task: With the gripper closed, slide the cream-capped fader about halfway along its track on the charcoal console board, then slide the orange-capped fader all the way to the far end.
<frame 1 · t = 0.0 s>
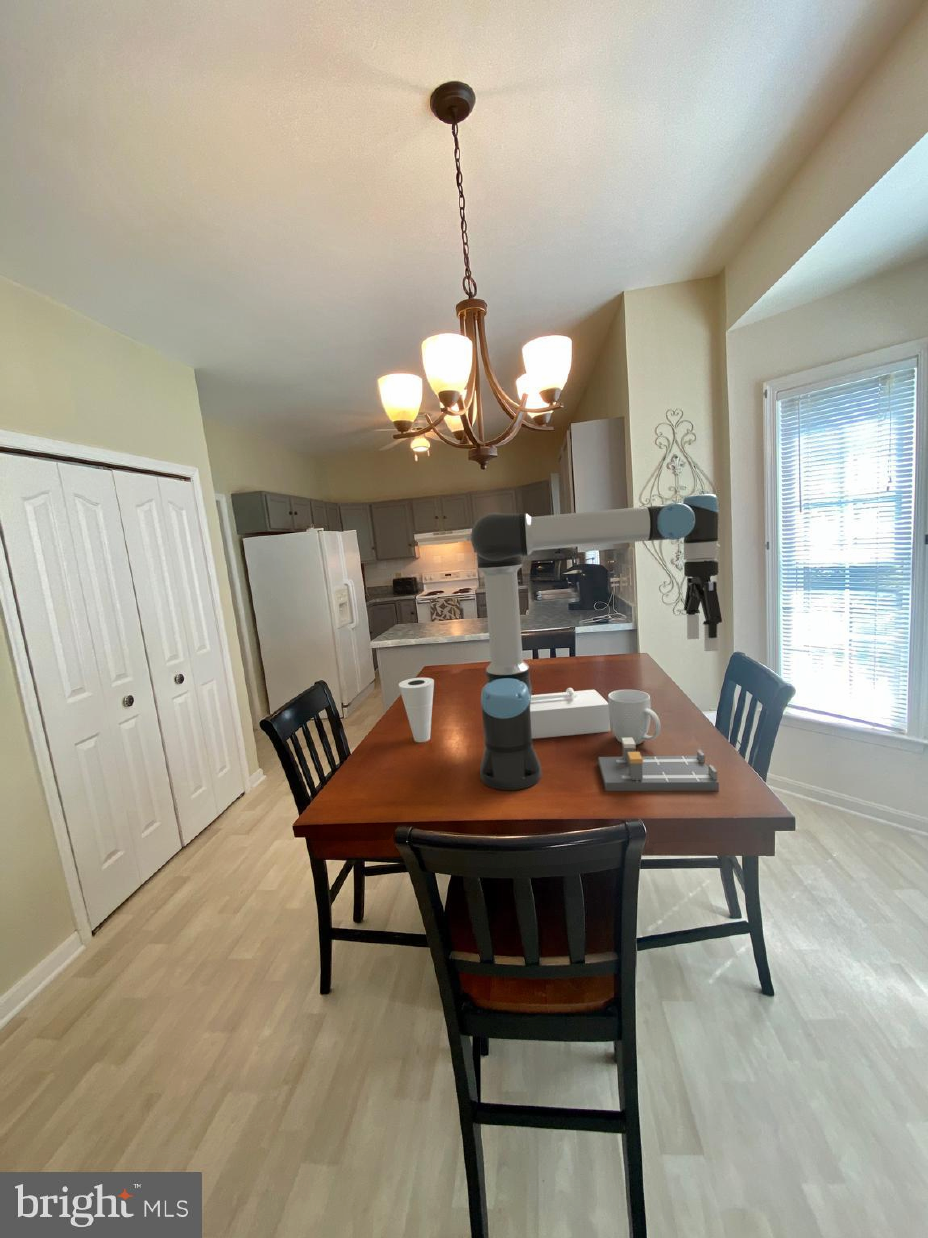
hand: (701, 644, 121), 28 cm above the table, fingers open, 13 cm apart
fader orange: (635, 765, 110), point 5 cm above the table, slide at 0.0 cm
white paper towel roll: (422, 739, 147), on the table
console: (654, 776, 113), on the table
tissue box: (562, 727, 148), on the table
fader cream: (628, 750, 117), point 5 cm above the table, slide at 0.0 cm
mug: (633, 742, 133), on the table
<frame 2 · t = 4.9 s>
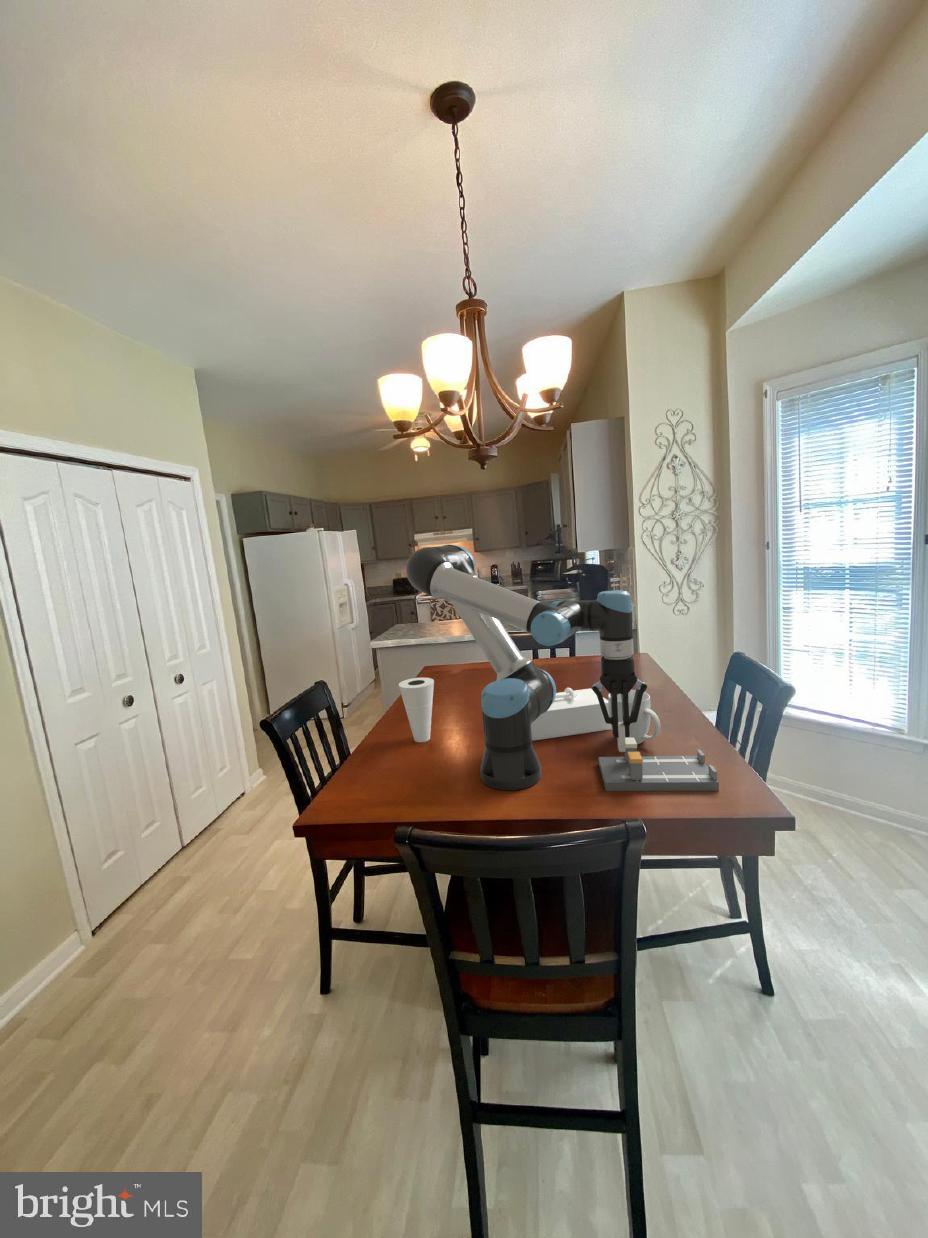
hand: (621, 749, 117), 5 cm above the table, fingers closed
fader cream: (630, 750, 117), point 5 cm above the table, slide at 0.4 cm, touching gripper
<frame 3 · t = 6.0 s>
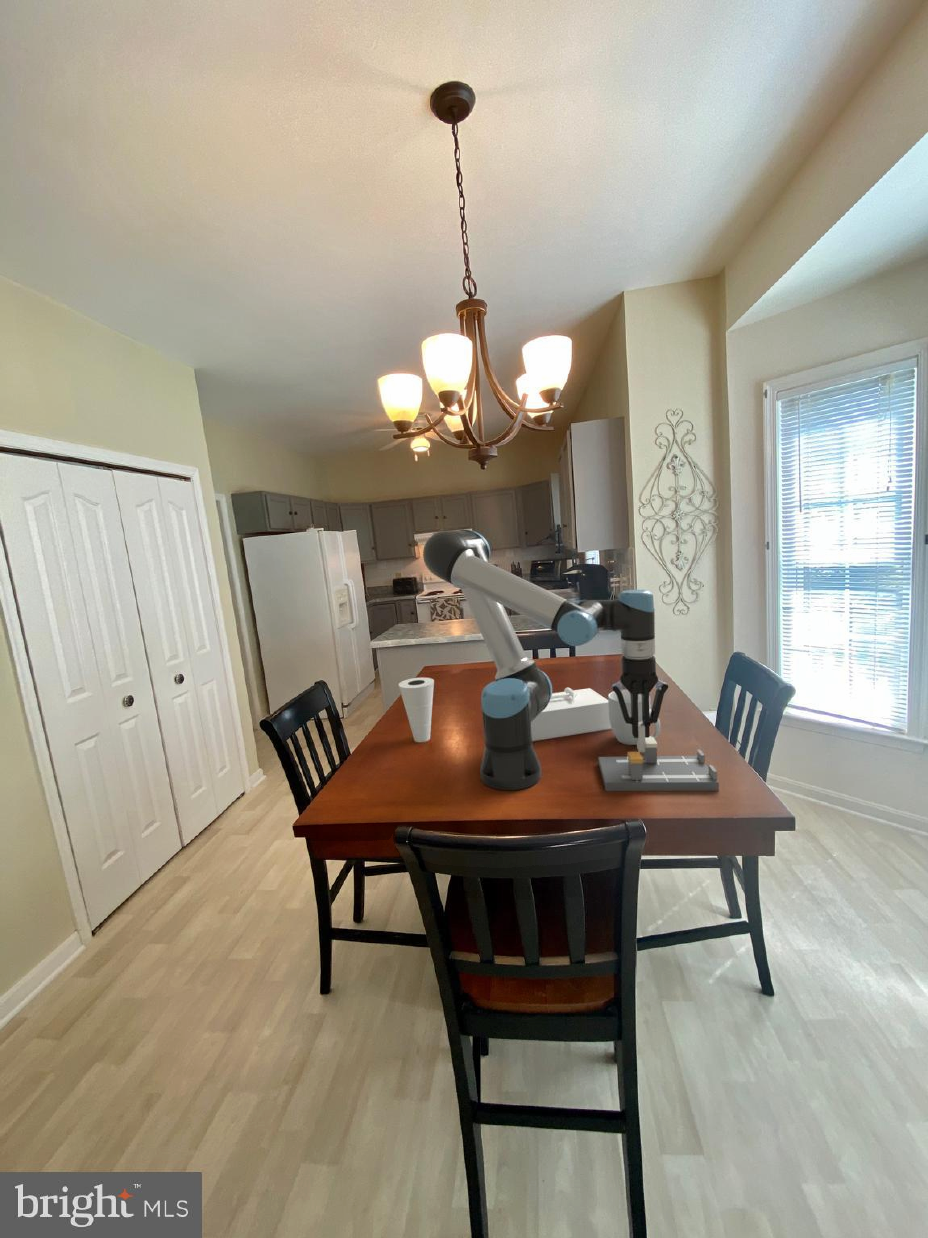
hand: (641, 749, 117), 5 cm above the table, fingers closed
fader cream: (649, 750, 117), point 5 cm above the table, slide at 5.0 cm, touching gripper
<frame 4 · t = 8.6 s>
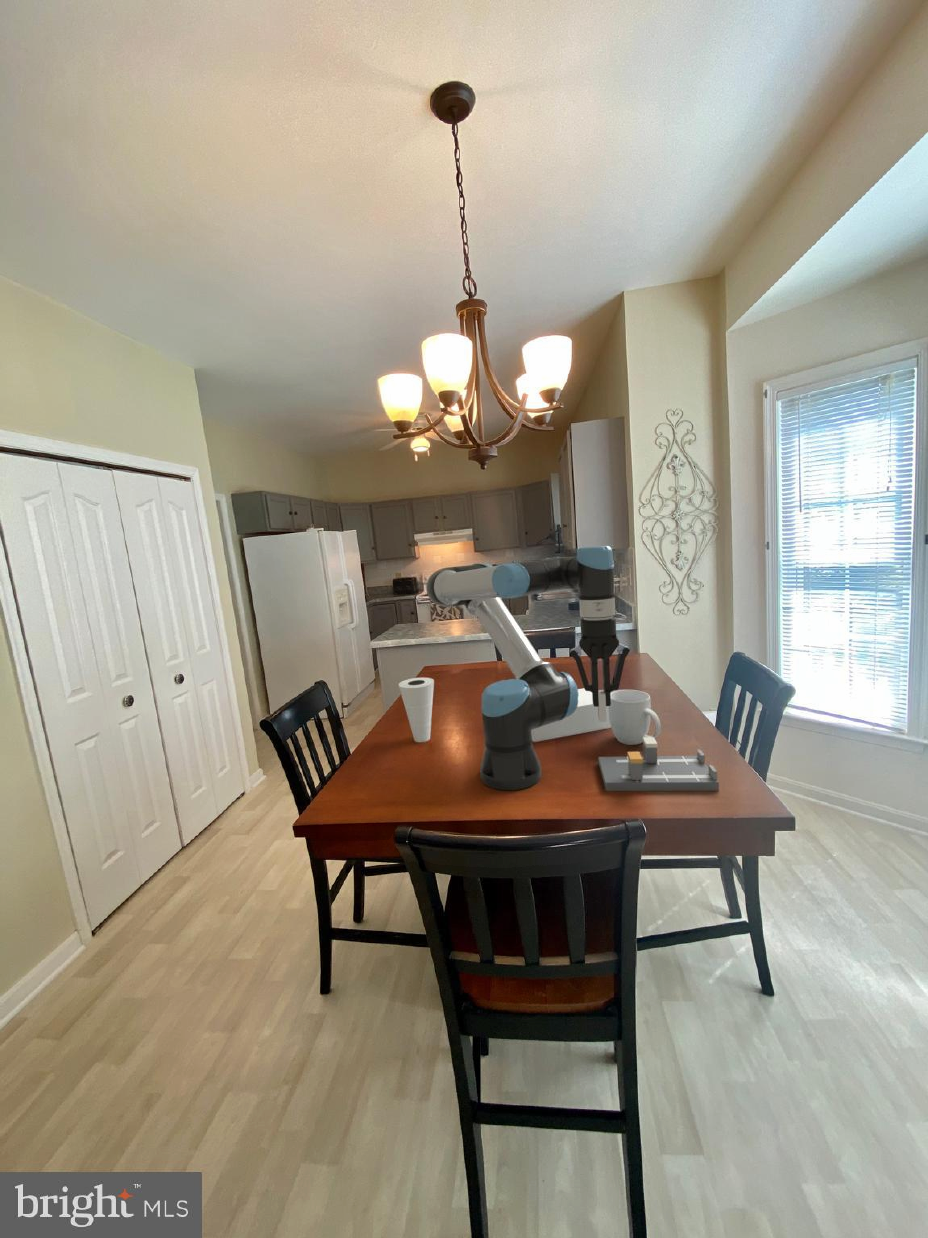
hand: (602, 719, 109), 16 cm above the table, fingers closed
fader cream: (650, 750, 117), point 5 cm above the table, slide at 5.0 cm
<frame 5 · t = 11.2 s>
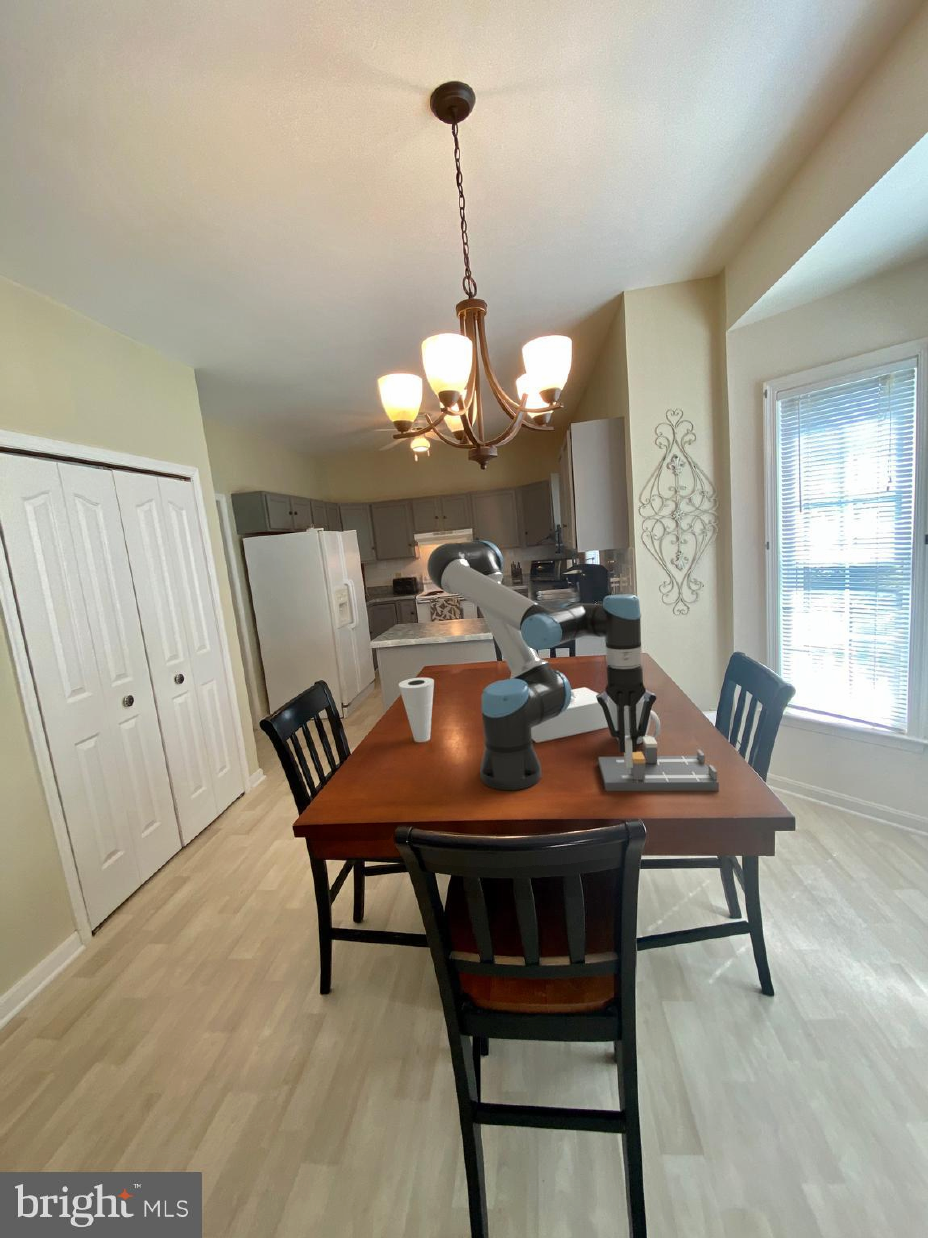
hand: (628, 764, 110), 5 cm above the table, fingers closed
fader orange: (637, 765, 110), point 5 cm above the table, slide at 0.5 cm, touching gripper
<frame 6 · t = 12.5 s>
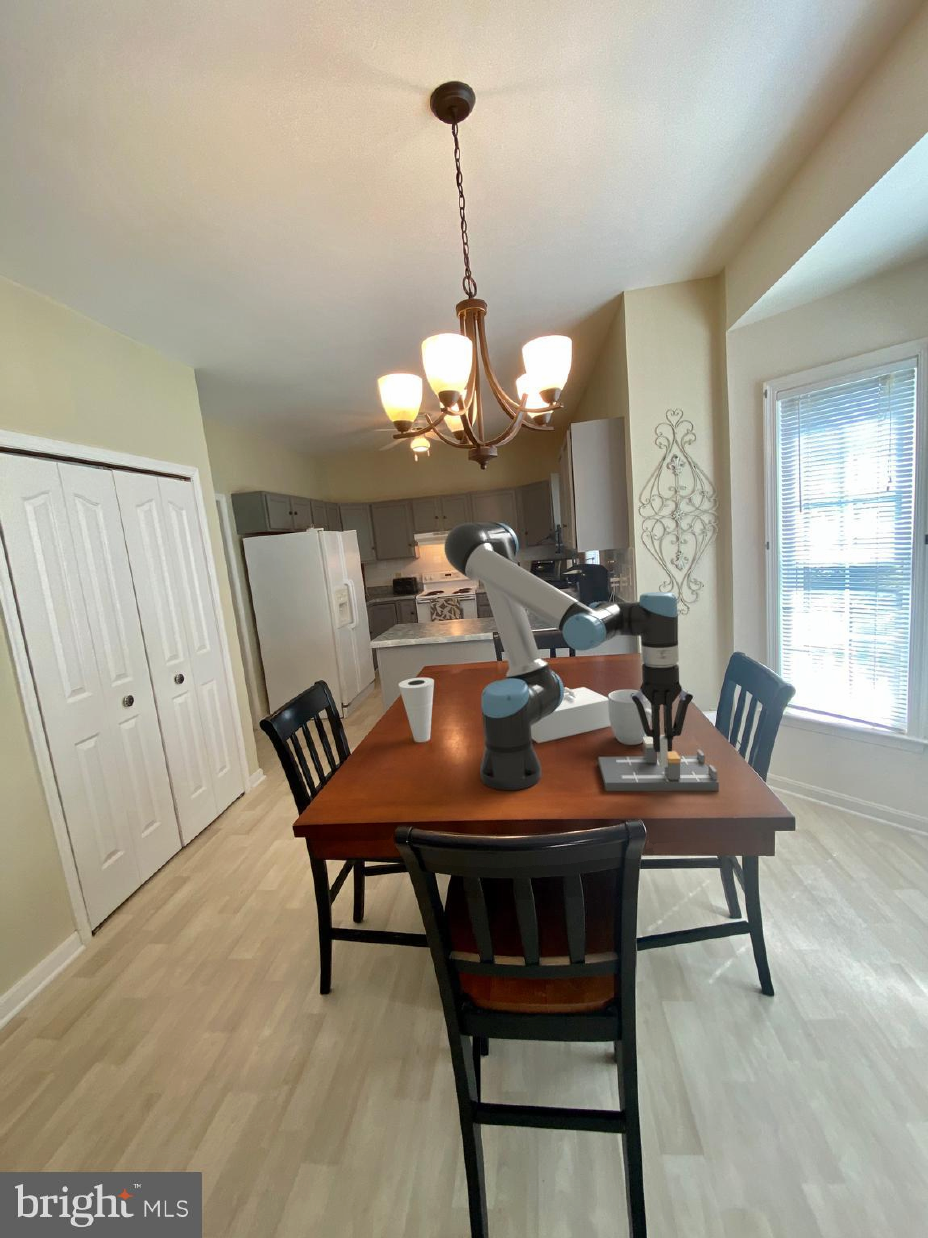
hand: (663, 764, 108), 5 cm above the table, fingers closed
fader orange: (672, 765, 108), point 5 cm above the table, slide at 8.0 cm, touching gripper
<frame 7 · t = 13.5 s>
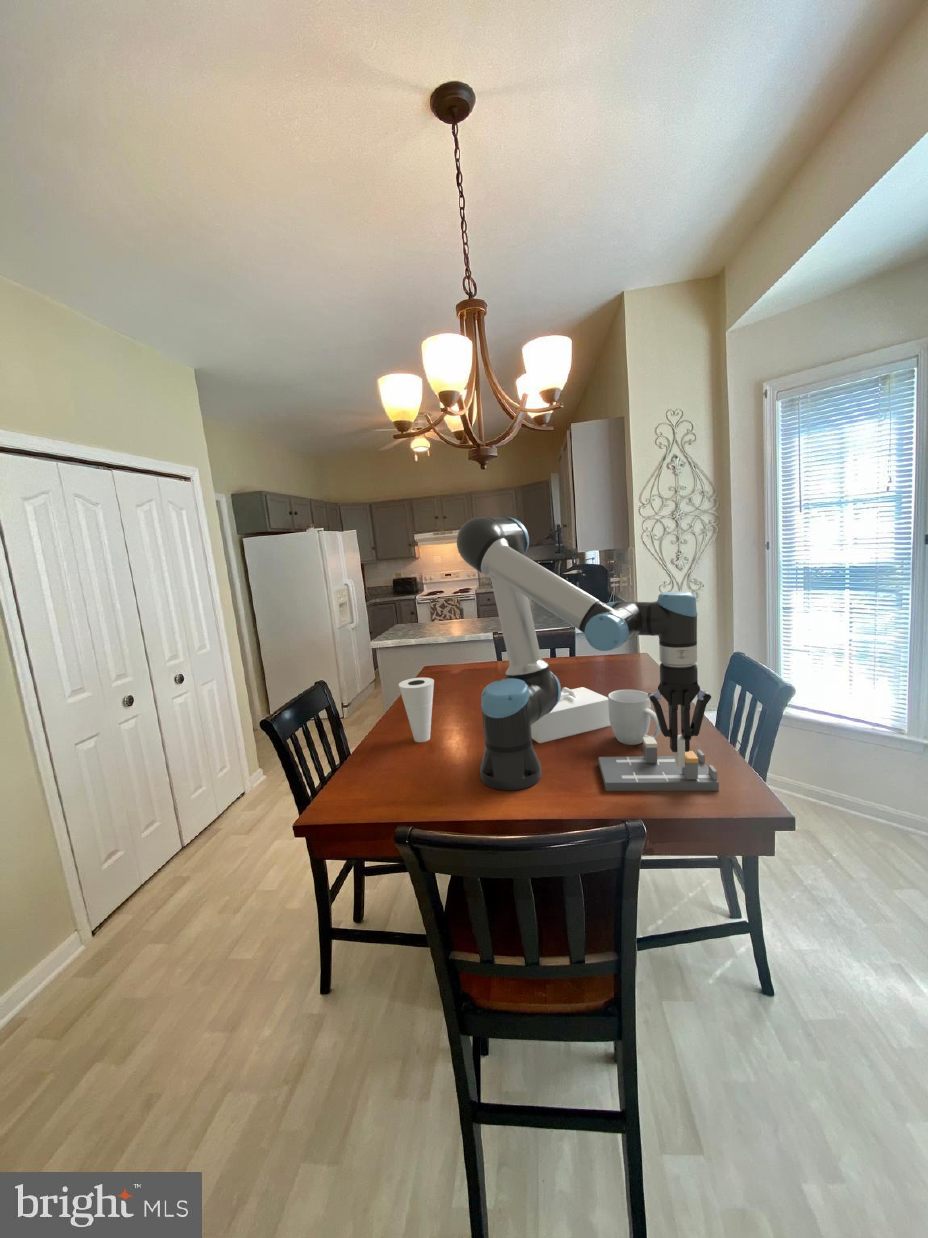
hand: (680, 764, 108), 5 cm above the table, fingers closed
fader orange: (689, 765, 108), point 5 cm above the table, slide at 11.7 cm, touching gripper
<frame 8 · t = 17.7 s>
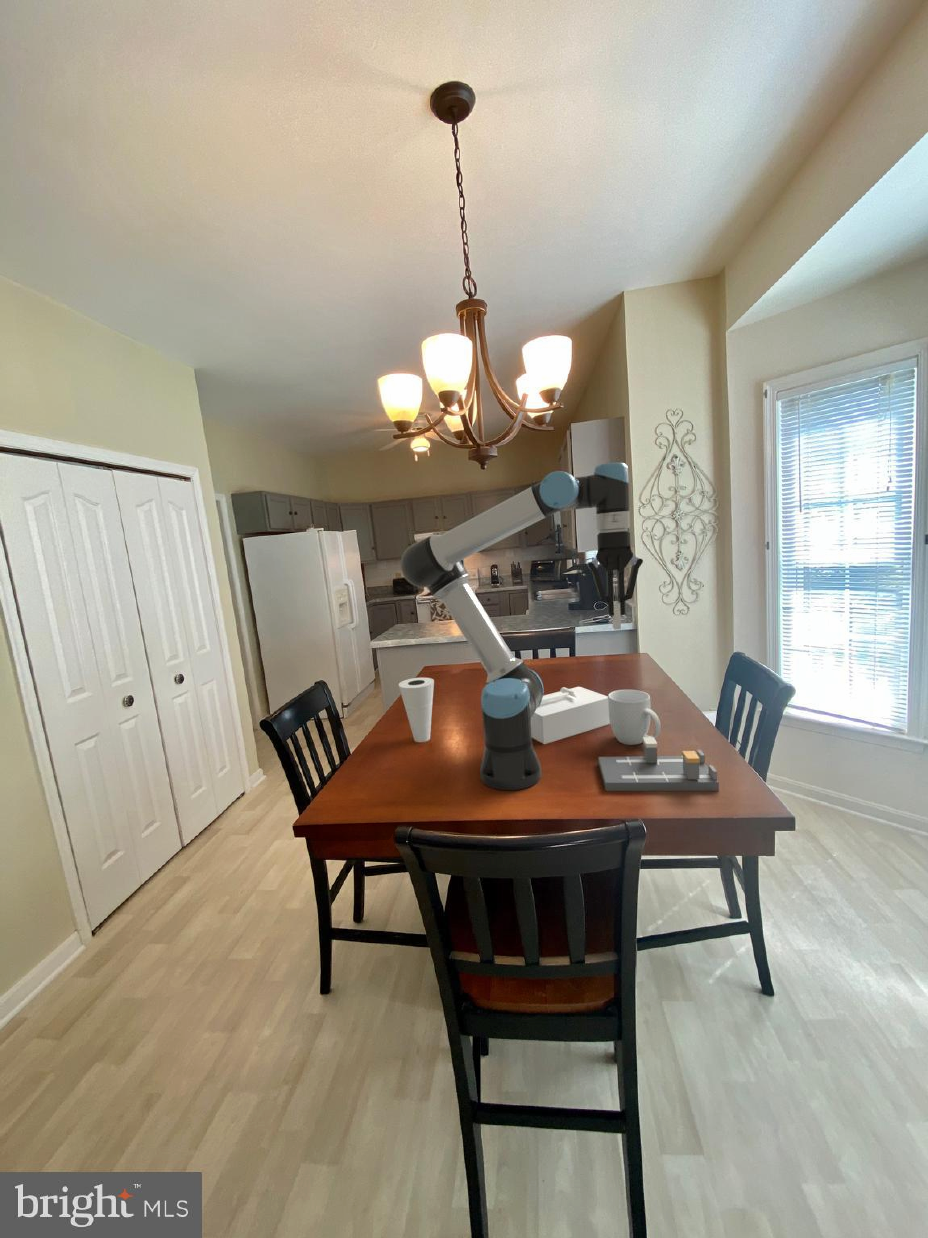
hand: (616, 628, 118), 34 cm above the table, fingers closed
fader orange: (690, 765, 108), point 5 cm above the table, slide at 12.0 cm
at the end: fader orange slide at 12.0 cm; fader cream slide at 5.0 cm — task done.
